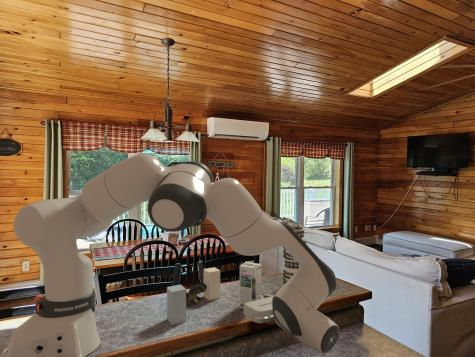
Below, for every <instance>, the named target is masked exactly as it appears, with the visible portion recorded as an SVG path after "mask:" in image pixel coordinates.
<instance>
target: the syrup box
mask: <svg viewBox="0 0 475 357" xmlns="http://www.w3.org/2000/svg"><path fill="white" fill-rule="evenodd" d="M258 295H262V263H256V262H255V263H254V262H249V261H246V262H244V263H242V264H240V265H239V309H241V310H244V304H245V303H246V302H251V301H255V300H258Z"/></svg>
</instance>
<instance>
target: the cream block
mask: <svg viewBox="0 0 475 357" xmlns="http://www.w3.org/2000/svg"><path fill="white" fill-rule="evenodd" d="M202 273H203V282H202V283H204V284H205V285H206V286H207V289H206V291H205V292H202V293H203V297H204V298H205V300H208V301H213V300H217V299H220V298H221V270H220V269H218V268H217V267H215V266H214V267H208V268H204V269H203V272H202Z"/></svg>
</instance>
